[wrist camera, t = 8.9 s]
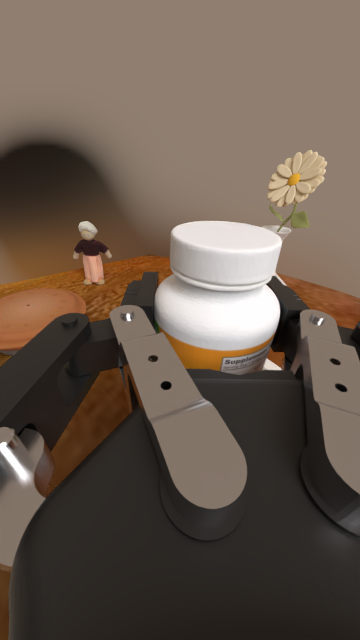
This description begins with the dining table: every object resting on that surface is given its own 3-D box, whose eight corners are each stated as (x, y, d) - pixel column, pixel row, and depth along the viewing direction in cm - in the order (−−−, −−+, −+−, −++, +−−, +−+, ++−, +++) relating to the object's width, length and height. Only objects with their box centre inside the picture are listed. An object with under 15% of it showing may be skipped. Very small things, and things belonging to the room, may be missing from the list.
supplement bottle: (142, 383, 15) (130, 220, 9) (213, 358, 17) (236, 214, 12) (181, 465, 11) (200, 269, 5) (266, 420, 13) (341, 246, 8)
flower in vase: (223, 286, 53) (245, 148, 38) (269, 283, 55) (307, 152, 40) (247, 318, 42) (290, 147, 28) (303, 314, 44) (370, 151, 30)
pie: (110, 325, 39) (106, 299, 36) (15, 387, 28) (-2, 357, 26) (53, 298, 46) (46, 274, 43) (-42, 339, 35) (-60, 311, 32)
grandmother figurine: (78, 287, 49) (63, 224, 42) (79, 279, 52) (65, 219, 45) (115, 284, 51) (107, 223, 44) (114, 276, 54) (106, 218, 47)
